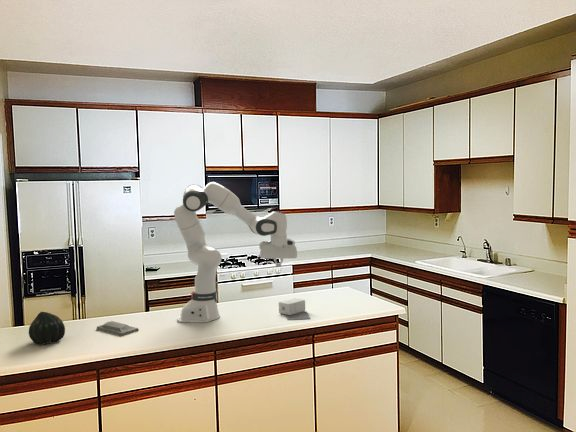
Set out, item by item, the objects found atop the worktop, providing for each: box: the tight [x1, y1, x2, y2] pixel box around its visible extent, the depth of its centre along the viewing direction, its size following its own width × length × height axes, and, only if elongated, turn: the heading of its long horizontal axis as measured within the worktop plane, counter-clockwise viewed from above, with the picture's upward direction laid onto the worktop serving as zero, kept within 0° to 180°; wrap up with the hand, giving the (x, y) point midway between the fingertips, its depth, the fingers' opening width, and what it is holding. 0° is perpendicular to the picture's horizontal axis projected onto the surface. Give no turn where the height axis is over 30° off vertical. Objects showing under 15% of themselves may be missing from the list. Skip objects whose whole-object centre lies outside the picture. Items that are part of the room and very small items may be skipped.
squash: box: [28, 311, 66, 346], centre depth 218 cm, size 14×15×15 cm
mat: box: [285, 310, 311, 321], centre depth 251 cm, size 12×13×1 cm
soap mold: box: [96, 320, 140, 337], centre depth 233 cm, size 10×20×4 cm, turn 57°
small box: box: [278, 297, 306, 316], centre depth 257 cm, size 8×6×13 cm
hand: (278, 266), depth 253 cm, fingers closed
